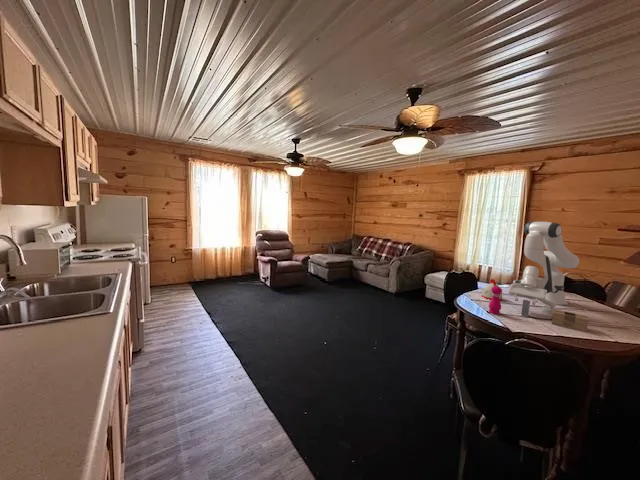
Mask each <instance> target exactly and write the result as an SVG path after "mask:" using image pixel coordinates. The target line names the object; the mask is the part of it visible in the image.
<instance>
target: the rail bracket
mask: <svg viewBox="0 0 640 480" xmlns="http://www.w3.org/2000/svg"><path fill="white" fill-rule="evenodd" d="M530 303H531V300H527V299H523V301H522V308H521V314H520V316H522V317H526V318H528V317H529V312H530V305H531V304H530Z"/></svg>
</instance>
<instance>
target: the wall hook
mask: <svg viewBox="0 0 640 480" xmlns="http://www.w3.org/2000/svg"><path fill="white" fill-rule="evenodd" d="M540 303H542V304H544V305H545V306H541V307H540V311H541V312H542V313H545V314H549V315H553V309H556V310H558V309H557V308H556V304H554V303H552V302H550V301H548V300H546V299H545V301H540ZM546 305H547V306H546Z"/></svg>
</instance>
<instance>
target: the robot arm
mask: <svg viewBox="0 0 640 480" xmlns="http://www.w3.org/2000/svg"><path fill="white" fill-rule="evenodd" d="M523 228H524V229H523V230H524V233H525V235H526V237H525V240H524V247H523V248H524V249H523V253H524V256H525V257H526V258H527V259H528V260H530V261H532V262H534V263H537V264H539V265H540V266H541V267H542V269H543V275H544V277H543V278H542V277H539V273H540V271H539V267H537V266H533V265H527V266H525V268H524V269H523V273H522V275H521V276H520V277H521V278H520V279H514V280H513V282H512V283H511V284H510V286H509V289H508V293H509V295H511V296H513V297H514V299H515V300H514V301H516V302H518V301H519V297H520V298H524V299H525V298H526V299H530V300H532V306H535V305H536V303H538V301H545V299H546V300H548V301H550V302H552V303H554V304H555V305H558V306H568V305H569V304H568V302H567V301H566V294H567V293H565V292H564V289H565V285H564V282H565V275H564V273H563V272H562V271H561V270H559V268H564V269H575V268H576V267H578V266H579V264H580V259H579V257H578V255H576V254H574V253H573V252H571V251H570V250H569V249H568V248H567V246H566V245H565V243H564V239H563V235H562V232H563V228H562V225H561V224H560V223H558V222H550V221H529V222H527V223H526V224H525V225H524V227H523ZM544 249H545V250H544ZM558 267H559V268H558Z"/></svg>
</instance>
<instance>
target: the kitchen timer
mask: <svg viewBox="0 0 640 480" xmlns="http://www.w3.org/2000/svg"><path fill="white" fill-rule="evenodd" d="M496 284H497V282H496V280H495V279H493V278H490V281H489V284H487V285H486V286H485V287H483V288H482V291H481V298H482V297H484V298H486V299H485V300H487V299H489V300H488V301H491V300H492V293H493V292H492V291H491V289H492V287H494V286H496ZM500 294H501V295H500V298H499V301H500V302H502V301H503V292H502V293H500ZM484 298H483V299H484Z"/></svg>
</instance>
